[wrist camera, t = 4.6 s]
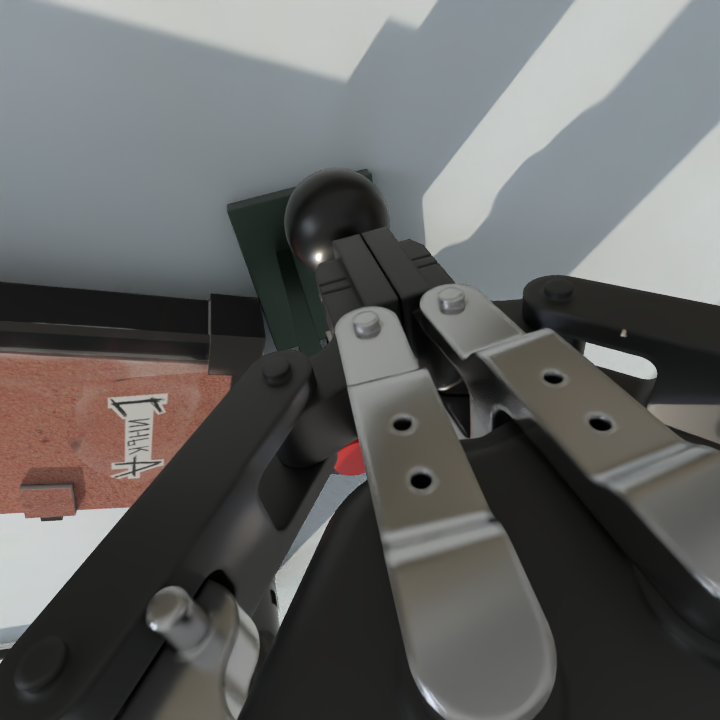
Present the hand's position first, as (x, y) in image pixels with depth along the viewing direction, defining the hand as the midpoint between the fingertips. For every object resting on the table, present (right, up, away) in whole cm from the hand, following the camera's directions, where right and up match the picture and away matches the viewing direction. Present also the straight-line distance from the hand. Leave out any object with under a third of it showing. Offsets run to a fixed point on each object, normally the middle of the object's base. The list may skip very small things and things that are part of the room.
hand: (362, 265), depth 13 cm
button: (-1, -10, +27) cm, 28 cm away
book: (-22, -4, +21) cm, 30 cm away
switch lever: (-1, +1, +7) cm, 8 cm away
